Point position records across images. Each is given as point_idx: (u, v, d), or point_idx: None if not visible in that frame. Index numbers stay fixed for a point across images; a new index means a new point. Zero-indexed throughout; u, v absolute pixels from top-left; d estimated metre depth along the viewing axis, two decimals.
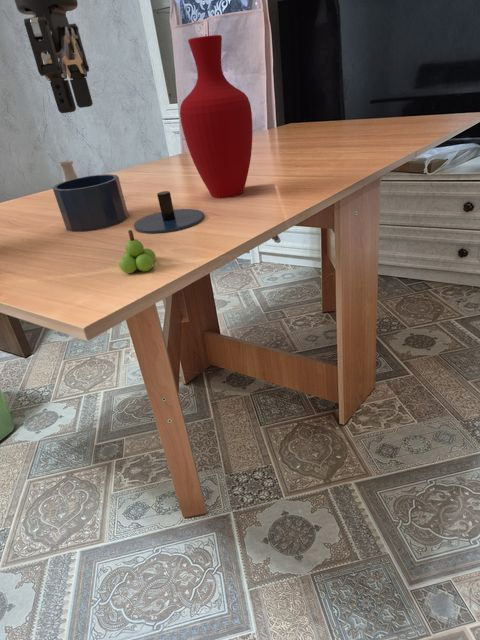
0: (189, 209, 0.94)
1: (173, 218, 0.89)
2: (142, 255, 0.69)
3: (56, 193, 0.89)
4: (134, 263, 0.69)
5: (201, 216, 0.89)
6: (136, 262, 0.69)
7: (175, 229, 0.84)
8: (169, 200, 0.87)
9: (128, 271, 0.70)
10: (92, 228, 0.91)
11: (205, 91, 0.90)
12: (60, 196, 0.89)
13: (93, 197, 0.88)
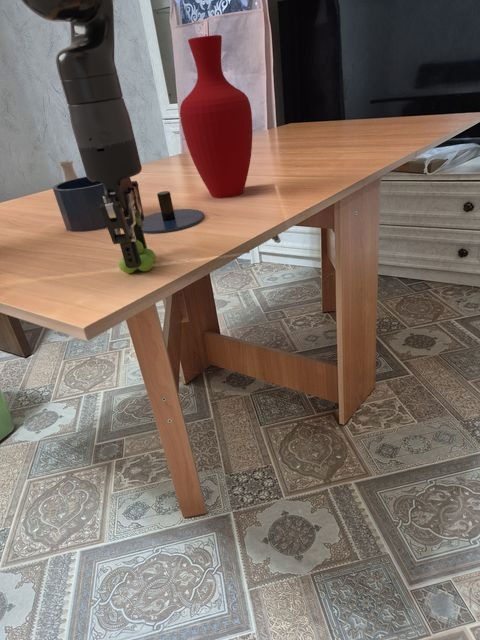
0: (189, 209, 0.94)
1: (173, 218, 0.89)
2: (142, 255, 0.69)
3: (56, 193, 0.89)
4: None
5: (201, 216, 0.89)
6: None
7: (175, 229, 0.84)
8: (169, 200, 0.87)
9: (128, 271, 0.70)
10: (92, 228, 0.91)
11: (205, 91, 0.90)
12: (60, 196, 0.89)
13: (93, 197, 0.88)
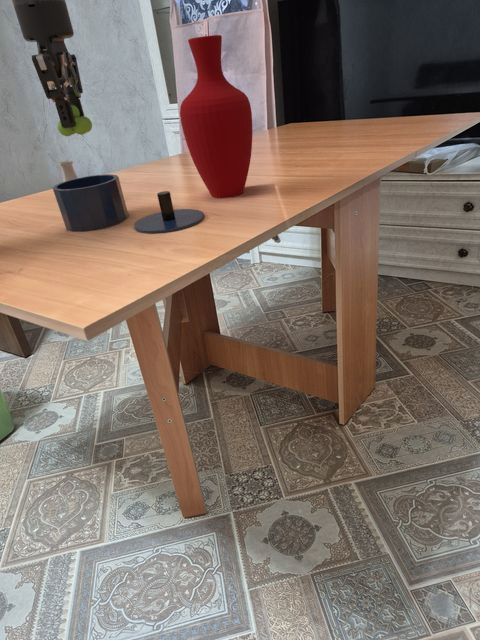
0: (189, 209, 0.94)
1: (173, 218, 0.89)
2: (77, 118, 0.78)
3: (56, 193, 0.89)
4: None
5: (201, 216, 0.89)
6: None
7: (175, 229, 0.84)
8: (169, 200, 0.87)
9: (65, 133, 0.78)
10: (92, 228, 0.91)
11: (205, 91, 0.90)
12: (60, 196, 0.89)
13: (93, 197, 0.88)
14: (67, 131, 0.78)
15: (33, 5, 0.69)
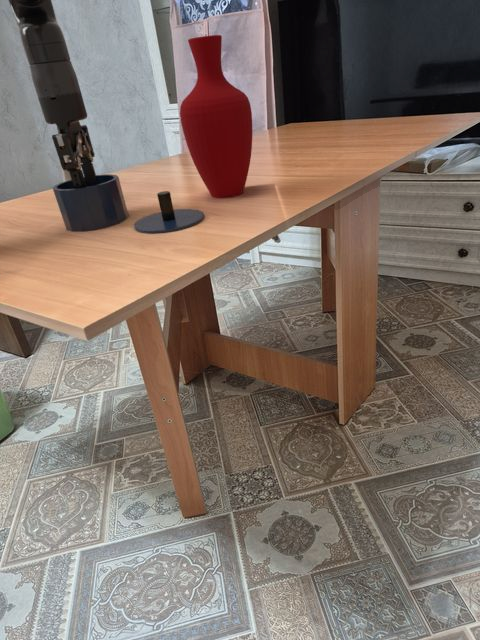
0: (189, 209, 0.94)
1: (173, 218, 0.89)
2: None
3: (56, 193, 0.89)
4: None
5: (201, 216, 0.89)
6: None
7: (175, 229, 0.84)
8: (169, 200, 0.87)
9: None
10: (92, 228, 0.91)
11: (205, 91, 0.90)
12: (60, 196, 0.89)
13: (93, 197, 0.88)
14: None
15: (54, 96, 0.83)
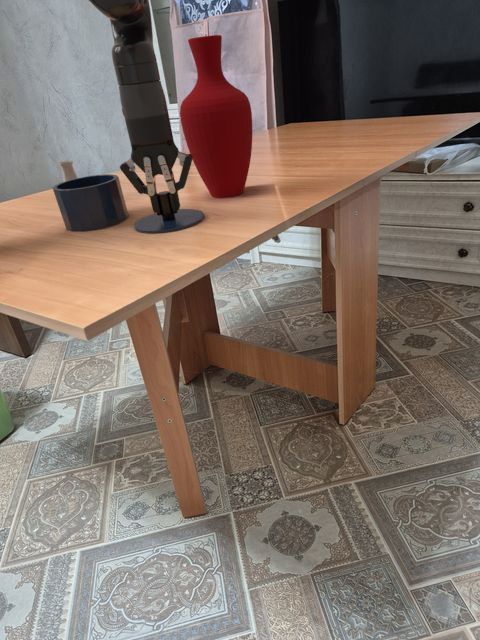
0: (189, 209, 0.94)
1: (173, 218, 0.89)
2: None
3: (56, 193, 0.89)
4: None
5: (201, 216, 0.89)
6: None
7: (175, 229, 0.84)
8: (169, 200, 0.87)
9: None
10: (92, 228, 0.91)
11: (205, 91, 0.90)
12: (60, 196, 0.89)
13: (93, 197, 0.88)
14: None
15: None
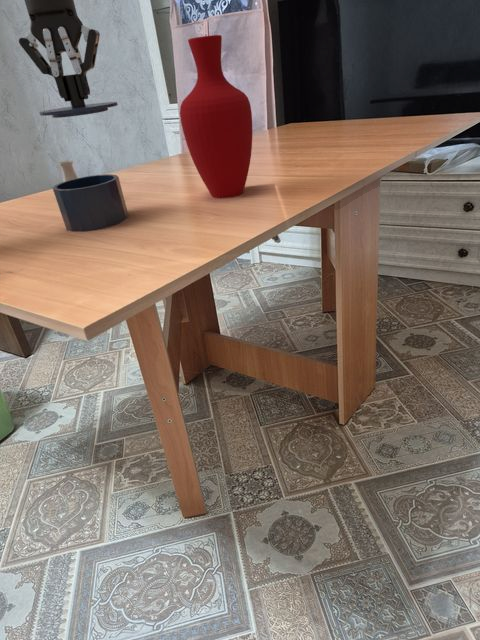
0: (105, 102, 0.89)
1: (82, 105, 0.83)
2: None
3: (56, 193, 0.89)
4: None
5: (112, 103, 0.83)
6: None
7: (79, 110, 0.79)
8: (76, 83, 0.81)
9: None
10: (92, 228, 0.91)
11: (205, 91, 0.90)
12: (60, 196, 0.89)
13: (93, 197, 0.88)
14: None
15: None
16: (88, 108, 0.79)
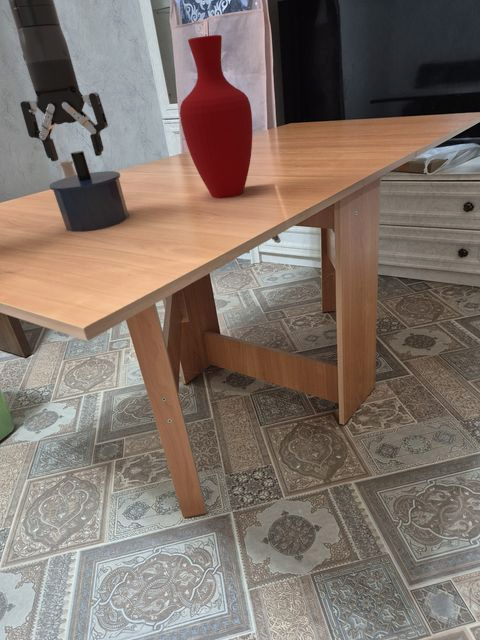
0: (108, 171, 0.97)
1: (88, 178, 0.91)
2: None
3: (56, 193, 0.89)
4: None
5: (115, 176, 0.91)
6: None
7: (85, 186, 0.87)
8: (83, 159, 0.89)
9: None
10: (92, 228, 0.91)
11: (205, 91, 0.90)
12: (60, 196, 0.89)
13: (93, 197, 0.88)
14: None
15: None
16: (94, 184, 0.87)
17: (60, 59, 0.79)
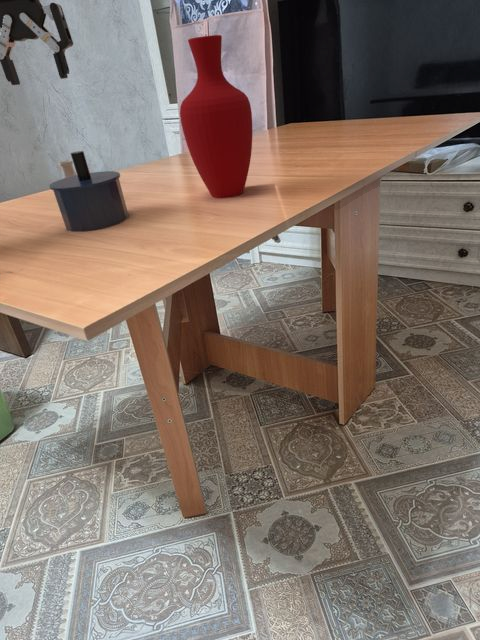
0: (108, 171, 0.97)
1: (88, 178, 0.91)
2: None
3: (56, 193, 0.89)
4: None
5: (115, 176, 0.91)
6: None
7: (85, 186, 0.87)
8: (83, 159, 0.89)
9: None
10: (92, 228, 0.91)
11: (205, 91, 0.90)
12: (60, 196, 0.89)
13: (93, 197, 0.88)
14: None
15: None
16: (94, 184, 0.87)
17: None
